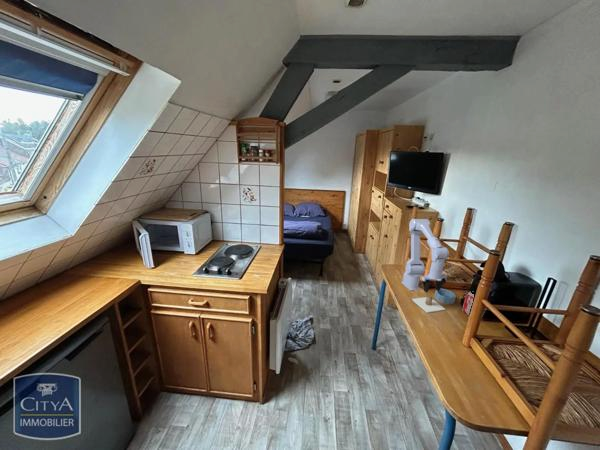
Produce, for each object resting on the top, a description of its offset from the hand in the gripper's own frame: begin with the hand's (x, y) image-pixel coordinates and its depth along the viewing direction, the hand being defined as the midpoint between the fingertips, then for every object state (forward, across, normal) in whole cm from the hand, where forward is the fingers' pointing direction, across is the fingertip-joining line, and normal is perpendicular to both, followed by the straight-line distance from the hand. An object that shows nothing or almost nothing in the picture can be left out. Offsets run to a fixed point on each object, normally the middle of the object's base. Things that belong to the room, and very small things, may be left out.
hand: (431, 290), depth 134 cm
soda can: (+10, +17, -11) cm, 22 cm away
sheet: (+9, 0, 0) cm, 9 cm away
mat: (+9, 0, 0) cm, 9 cm away
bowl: (+9, +14, +3) cm, 17 cm away
